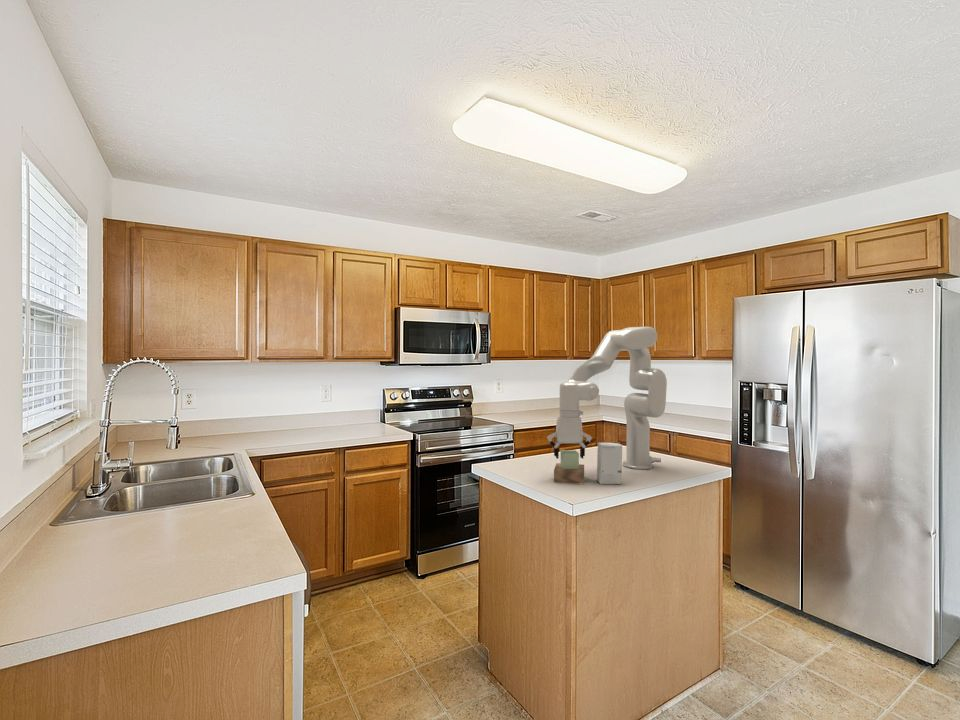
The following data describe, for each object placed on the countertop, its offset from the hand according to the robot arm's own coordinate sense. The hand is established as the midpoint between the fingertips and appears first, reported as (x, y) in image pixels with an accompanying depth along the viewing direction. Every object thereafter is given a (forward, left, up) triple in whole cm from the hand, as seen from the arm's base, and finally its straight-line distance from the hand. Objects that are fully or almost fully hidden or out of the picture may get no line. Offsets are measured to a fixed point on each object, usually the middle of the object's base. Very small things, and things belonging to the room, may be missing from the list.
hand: (569, 457), depth 188 cm
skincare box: (-14, +5, -8) cm, 17 cm away
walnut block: (0, 0, -9) cm, 9 cm away
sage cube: (0, 0, -4) cm, 4 cm away
